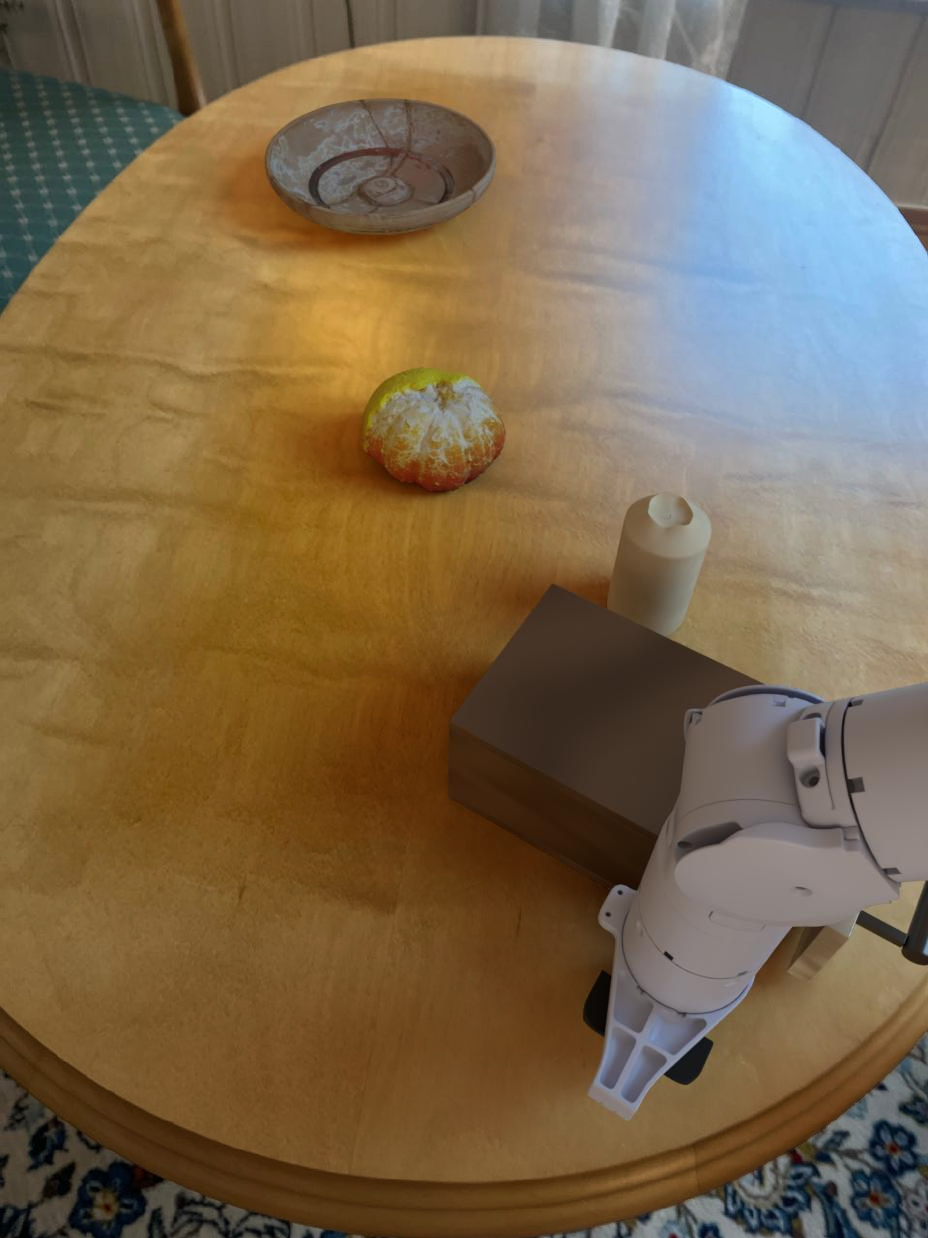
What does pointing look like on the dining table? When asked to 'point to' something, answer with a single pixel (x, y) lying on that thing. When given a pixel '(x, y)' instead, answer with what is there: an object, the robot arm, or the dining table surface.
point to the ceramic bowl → (380, 165)
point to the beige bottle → (658, 561)
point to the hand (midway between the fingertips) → (652, 1008)
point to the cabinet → (582, 735)
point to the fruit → (432, 428)
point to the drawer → (820, 943)
